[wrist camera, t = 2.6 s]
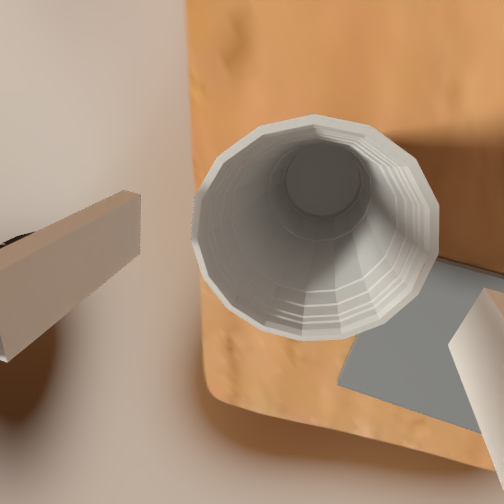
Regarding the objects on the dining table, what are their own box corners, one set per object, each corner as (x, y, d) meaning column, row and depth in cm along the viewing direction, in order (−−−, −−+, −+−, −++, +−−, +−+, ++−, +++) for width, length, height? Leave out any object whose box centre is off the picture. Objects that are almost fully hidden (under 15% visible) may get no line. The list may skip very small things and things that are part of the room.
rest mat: (614, 304, 23) (622, 311, 23) (499, 433, 31) (503, 441, 30) (395, 245, 26) (397, 250, 25) (337, 378, 33) (337, 385, 32)
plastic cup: (391, 253, 26) (416, 365, 16) (255, 241, 29) (200, 330, 18) (418, 99, 21) (482, 114, 11) (253, 101, 24) (176, 115, 13)
